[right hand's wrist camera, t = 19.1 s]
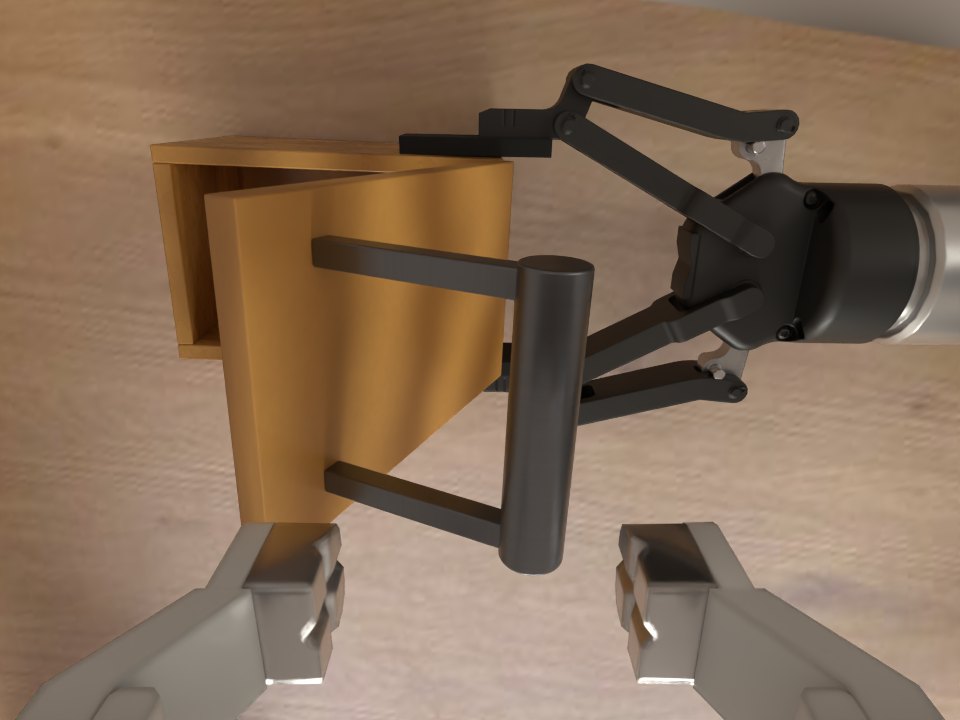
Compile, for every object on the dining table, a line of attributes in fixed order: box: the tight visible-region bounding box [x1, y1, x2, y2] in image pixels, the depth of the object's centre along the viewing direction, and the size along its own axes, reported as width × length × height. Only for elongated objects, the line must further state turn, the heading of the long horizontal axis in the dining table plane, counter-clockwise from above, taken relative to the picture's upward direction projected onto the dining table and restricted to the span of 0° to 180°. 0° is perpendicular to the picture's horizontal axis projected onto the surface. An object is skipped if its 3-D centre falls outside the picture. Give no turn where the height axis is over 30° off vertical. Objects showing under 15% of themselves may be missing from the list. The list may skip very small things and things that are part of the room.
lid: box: [204, 160, 595, 576], centre depth 20 cm, size 15×9×8 cm
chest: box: [150, 136, 503, 360], centre depth 32 cm, size 15×10×10 cm, turn 88°
